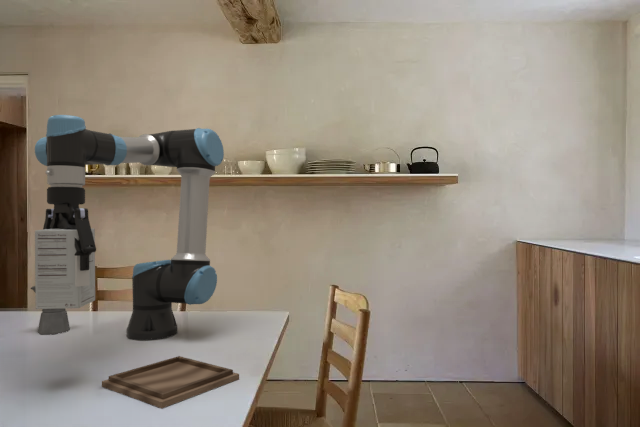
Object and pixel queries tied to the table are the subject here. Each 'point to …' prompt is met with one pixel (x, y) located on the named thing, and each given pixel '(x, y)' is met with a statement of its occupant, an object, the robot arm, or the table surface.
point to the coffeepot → (53, 321)
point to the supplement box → (60, 271)
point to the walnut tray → (169, 381)
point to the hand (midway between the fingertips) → (66, 283)
